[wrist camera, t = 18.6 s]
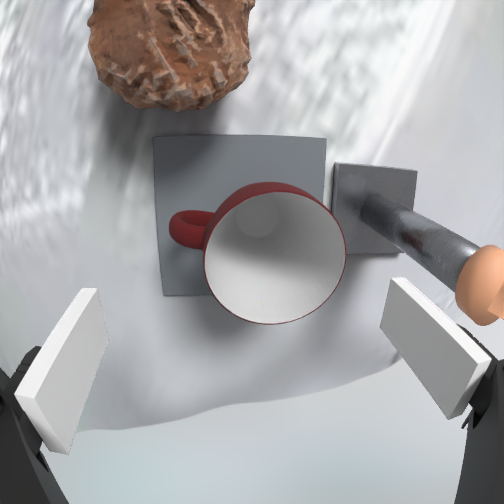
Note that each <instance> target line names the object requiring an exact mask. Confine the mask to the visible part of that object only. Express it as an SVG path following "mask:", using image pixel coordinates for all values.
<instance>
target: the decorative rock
mask: <svg viewBox="0 0 504 504" xmlns="http://www.w3.org/2000/svg"><path fill="white" fill-rule="evenodd" d="M254 6H255V0H95V1H94V8H93V13H92V15H91V16H90V18H89V19H88V23H87V26H89V27H90V29H91V34H90V38H89V43H88V48H89V52H90V54H91V57H92V59H93V61H94V63H95V66H96V69H97V73H98V79H99V80H101V81H102V82H103V83H105V84H106V85H107V86H108V87H109V88H110V89H111V90H112V91H113V92H114V93H116V94H119V95H121V96H122V97H123V100H124V101H125V102H128V103H130V104H131V105H133V106H134V107H135V108H136V109H142V108H153V107H158V108H163V109H167V110H171V111H176V112H181V111H183V110H203V109H204V108H206V107H207V106H209V105H210V104H211V103H213V102H215V101H217V100H219V99H221V98H223V97H224V96H225V95H226V94H228V93H229V92H230V91H232V90H234V89H236V88H237V87H238V86H240V85H241V84H242V83H243V82H244V81H245V79H246V77H247V75H248V73H249V72H248V67H247V65H248V63H249V61H250V60H251V55H250V51H249V39H248V20H249V13H250V10H251V9H252V8H253V7H254Z"/></svg>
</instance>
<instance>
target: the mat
mask: <svg viewBox="0 0 504 504" xmlns="http://www.w3.org/2000/svg"><path fill="white" fill-rule="evenodd" d="M326 140H327V139H325V138H312V137H295V136H273V135H188V136H165V137H153V147H154V181H155V201H156V218H157V232H158V245H159V256H160V266H161V276H162V286H163V294H164V295H213V294H212V292H211V291H210V289H209V286H208V284H207V281H206V278H205V274H204V267H203V250H199V249H192V248H188V247H185V246H182V245H180V244H178V243H177V242H175V241H174V240H173V239H172V238H171V236H170V234H169V221H170V219H171V217H172V216H173V215H174V214H176V213H177V212H180V211H185V210H199V211H207V212H213V213H215V212H216V210H217V209H218V208H219V206H220V205H221V204H222V203H223V202H224V201H225V200H226V199H227V198H228V197H229V196H230V195H231V194H233V193H234V192H235V191H237V190H238V189H240V188H242V187H244V186H246V185H249V184H253V183H259V182H280V183H286V184H289V185H293V186H295V187H298V188H300V189H302V190H304V191H306V192H308V193H309V194H310V195H312V196H313V197H315V198H316V199H317V200H318V201H320V202H321V203H322V204H323V192H324V177H325V160H326Z"/></svg>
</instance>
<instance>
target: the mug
mask: <svg viewBox="0 0 504 504" xmlns="http://www.w3.org/2000/svg"><path fill="white" fill-rule="evenodd" d="M169 234H170V236H171V238H172V239H173V240H174V241H175V242H177V243H178V244H180V245H182V246H185V247H188V248H192V249H199V250H203V267H204V274H205V278H206V281H207V284H208V286H209V289H210V291H211V292H212V294H213V296H214V297H215V298H216V300H217V301H218V302H219V303H220V304H221V305H222V306H223V307H224V308H225V309H226V310H227V311H229V312H230V313H232V314H233V315H235V316H237V317H239V318H241V319H243V320H246V321H249V322H253V323H258V324H269V325H273V324H283V323H288V322H292V321H295V320H298V319H300V318H302V317H305V316H306V315H308V314H310V313H312V312H313V311H315V310H316V309H317V308H319V307H320V306H321V305H322V304H323V303H325V302H326V300H327V299H328V298H329V297H330V296H331V295H332V293H333V292H334V291H335V289H336V287H337V286H338V284H339V282H340V280H341V277H342V275H343V272H344V268H345V263H346V243H345V238H344V235H343V232H342V229H341V227H340V225H339V223H338V221H337V220H336V218H335V217H334V216H333V214H332V213H331V212H330V211H329V210H328V209H327V208H326V207H325V206H324V205H323V204H322V203H321V202H320V201H318V200H317V199H316V198H315V197H313V196H312V195H310V194H309V193H308V192H306V191H304V190H302V189H300V188H298V187H295V186H293V185H289V184H286V183H280V182H259V183H253V184H249V185H246V186H244V187H242V188H240V189H238V190H237V191H235V192H234V193H233V194H231V195H230V196H229V197H228V198H227V199H226V200H225V201H224V202H223V203H222V204H221V205H220V206H219V208H218V209H217V210H216V212H215V213H213V212H207V211H199V210H185V211H180V212H177V213H176V214H174V215H173V216H172V217H171V219H170V221H169Z"/></svg>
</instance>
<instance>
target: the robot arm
mask: <svg viewBox="0 0 504 504" xmlns="http://www.w3.org/2000/svg"><path fill="white" fill-rule="evenodd" d="M380 328H381V330H382V331H383V332H384V334H385V335H386V336H387V337H388V339H389V340H390V341H391V343H392V344H393V345H394V347H395V348H396V349H397V351H398V352H399V353H400V355H401V356H402V357H403V359H404V360H405V361H406V362H407V364H408V365H409V366H410V368H411V369H412V371H413V372H414V373H415V375H416V376H417V377H418V379H419V380H420V381H421V383H422V384H423V386H424V387H425V388H426V390H427V391H428V392H429V394H430V395H431V396H432V398H433V399H434V401H435V402H436V404H437V405H438V406H439V408H440V409H441V411H442V412H443V413H444V415H445V416H446V418H447V419H448V420H449V419H452V418H454V417H457V416H459V415H461V414H463V412H464V410H465V409H466V407H467V405H468V403H469V404H470V405H471V406H472V407H473V409H472V410H471V412H470V414H469V415H468V417H467V418H466V420H465V422H464V423H463V425H462V427H461V428H462V429H463V428H464V427H465V426H466V424H467V423H468V428H467V430H468V432H467V440H466V446H465V454H464V459H463V465H462V470H461V476H460V480H459V485H458V490H457V494H456V499H455V503H454V504H504V359H503V360H500V361H498V360H497V359H496V358H495V357H494V356H493V355H492V354H491V353H490V352H489V351H488V350H487V349H486V348H485V347H484V346H483V345H482V344H481V343H479V341H478V340H477V339H476V338H475V337H473V335H472V334H471V333H470V332H469V331H467V330H466V329H465V328H463V327H462V326H460V325H458V324H455V323H454V322H453V321H452V320H451V319H450V318H449V317H448V316H447V315H446V314H445V313H444V312H443V311H441V310H440V309H439V308H438V307H437V306H436V305H435V304H434V303H433V302H432V301H430V300H429V299H428V298H427V297H426V296H425V295H424V294H423V293H421V292H420V291H419V290H418V289H417V288H416V287H415V286H413V285H412V284H411V283H410V282H409V281H408V280H407V279H405V278H404V277H399V278H391V280H390V285H389V289H388V294H387V299H386V303H385V307H384V312H383V316H382V320H381V324H380ZM109 341H110V340H109V336H108V332H107V328H106V324H105V320H104V315H103V311H102V307H101V302H100V297H99V292H98V288H82V289H81V290H80V292H79V293H78V294H77V296H76V297H75V299H74V300H73V301H72V303H71V304H70V306H69V307H68V309H67V310H66V312H65V313H64V314H63V316H62V317H61V319H60V320H59V322H58V323H57V325H56V326H55V328H54V329H53V331H52V332H51V334H50V335H49V337H48V339H47V340H46V342H45V343H44V345H43V346H42V347H39V346H35V347H34V348H33V349H32V350H30V351H29V352H28V353H27V354H26V355H25V357H24V358H23V360H22V361H21V365H19V366H18V368H17V369H16V372H14V374H13V376H12V377H11V379H9V378H8V377H7V375H6V374H5V373H4V372H3V371H2V370H1V369H0V504H69V503H68V501H67V499H66V498H65V496H64V494H63V492H62V491H61V489H60V487H59V485H58V483H57V482H56V479H55V478H54V476H53V474H52V472H51V470H50V468H49V466H48V464H47V462H46V459H45V457H44V456H43V454H42V453H41V451H40V446H41V444H42V441H43V442H44V444H45V445H46V447H47V448H48V449H49V451H52V452H57V453H61V454H66V455H69V452H70V449H71V446H72V443H73V439H74V436H75V433H76V430H77V427H78V424H79V421H80V418H81V415H82V412H83V409H84V406H85V403H86V401H87V398H88V395H89V392H90V390H91V387H92V384H93V381H94V379H95V376H96V373H97V371H98V368H99V366H100V363H101V361H102V358H103V356H104V353H105V351H106V348H107V346H108V343H109Z"/></svg>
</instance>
